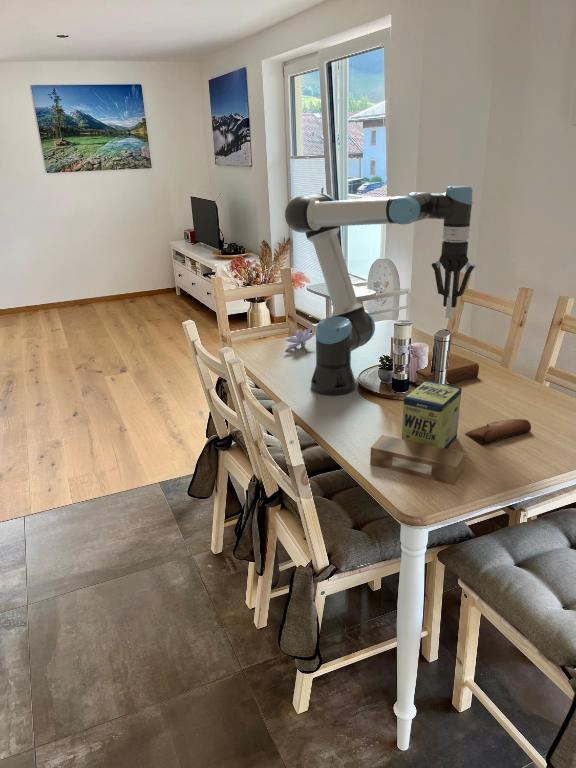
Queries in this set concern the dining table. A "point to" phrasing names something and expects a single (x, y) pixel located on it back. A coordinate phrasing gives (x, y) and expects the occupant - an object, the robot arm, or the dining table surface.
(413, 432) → the protein box
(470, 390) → the dining table surface
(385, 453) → the display riser
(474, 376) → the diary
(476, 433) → the sunglasses case
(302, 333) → the water lily
